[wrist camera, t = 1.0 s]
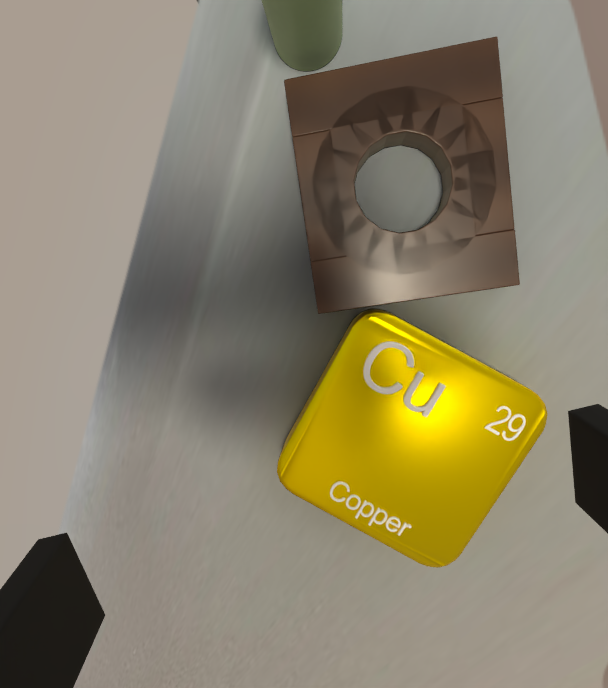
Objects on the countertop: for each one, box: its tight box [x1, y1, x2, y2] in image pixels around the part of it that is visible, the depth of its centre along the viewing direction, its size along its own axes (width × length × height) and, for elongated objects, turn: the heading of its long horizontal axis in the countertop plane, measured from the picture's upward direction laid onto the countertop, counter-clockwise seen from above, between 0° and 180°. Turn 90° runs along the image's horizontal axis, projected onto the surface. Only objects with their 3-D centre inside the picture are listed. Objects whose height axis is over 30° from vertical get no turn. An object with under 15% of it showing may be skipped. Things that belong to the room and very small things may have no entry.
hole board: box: [284, 37, 520, 314], centre depth 32 cm, size 16×14×3 cm
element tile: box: [277, 309, 547, 567], centre depth 33 cm, size 15×15×5 cm
